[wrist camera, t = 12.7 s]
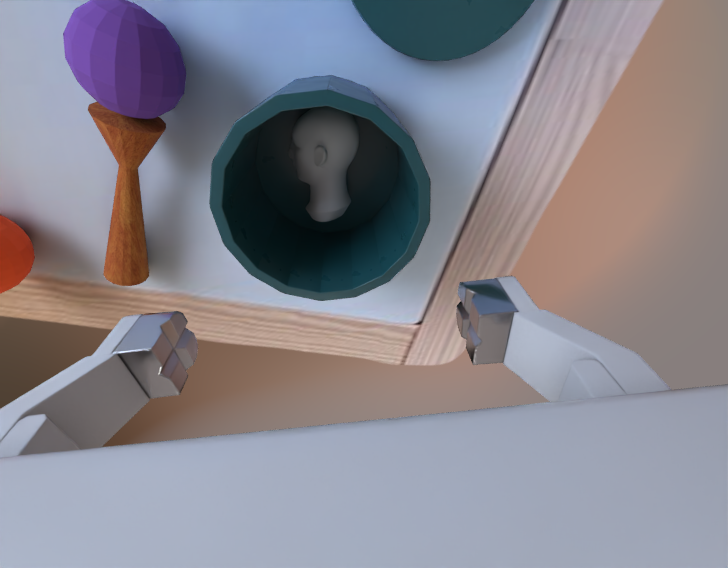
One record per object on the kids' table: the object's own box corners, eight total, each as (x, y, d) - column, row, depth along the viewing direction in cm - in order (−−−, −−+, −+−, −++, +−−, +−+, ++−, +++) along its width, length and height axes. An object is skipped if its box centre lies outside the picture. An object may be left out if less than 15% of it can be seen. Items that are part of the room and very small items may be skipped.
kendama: (63, 277, 28) (23, -34, 16) (118, 242, 32) (116, -16, 21) (137, 307, 28) (148, 29, 17) (179, 268, 33) (210, 32, 22)
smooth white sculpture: (303, 95, 25) (370, 108, 25) (298, 200, 30) (355, 214, 29) (276, 98, 22) (353, 114, 21) (275, 217, 26) (339, 233, 25)
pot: (226, 86, 24) (171, 107, 16) (403, 66, 24) (432, 77, 16) (270, 243, 31) (247, 309, 24) (407, 227, 31) (429, 289, 23)
